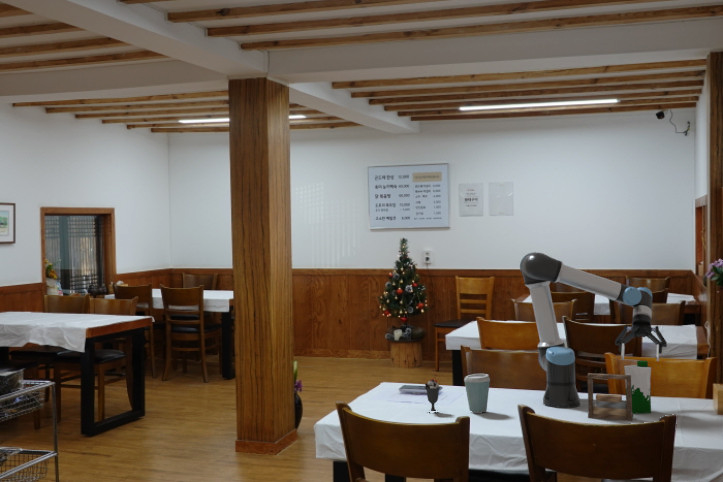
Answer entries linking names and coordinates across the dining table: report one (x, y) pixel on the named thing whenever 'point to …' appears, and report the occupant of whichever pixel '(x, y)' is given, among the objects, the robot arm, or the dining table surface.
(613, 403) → the offcut rack
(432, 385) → the sundae
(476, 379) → the disposable coffee cup
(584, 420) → the dining table surface
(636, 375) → the soya milk
